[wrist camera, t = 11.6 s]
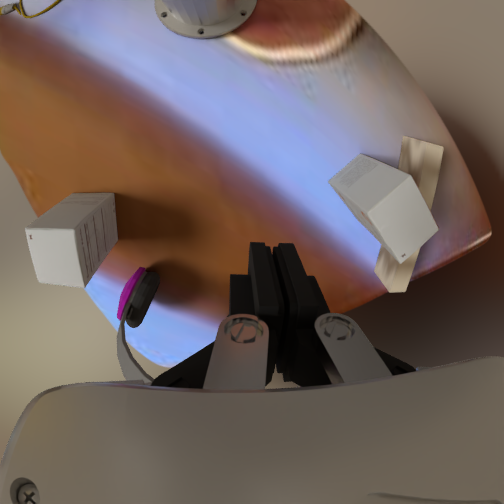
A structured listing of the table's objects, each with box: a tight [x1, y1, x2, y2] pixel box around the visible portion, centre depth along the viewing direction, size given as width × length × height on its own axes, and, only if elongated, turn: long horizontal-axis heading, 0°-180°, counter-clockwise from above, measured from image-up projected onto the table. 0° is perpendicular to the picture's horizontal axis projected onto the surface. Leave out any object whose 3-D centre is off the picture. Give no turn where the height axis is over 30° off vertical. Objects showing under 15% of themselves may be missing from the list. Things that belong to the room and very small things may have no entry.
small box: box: [328, 154, 439, 264], centre depth 32 cm, size 8×6×13 cm
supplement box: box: [25, 193, 118, 288], centre depth 32 cm, size 7×7×13 cm
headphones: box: [117, 267, 229, 383], centre depth 36 cm, size 21×9×20 cm, turn 61°
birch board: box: [374, 136, 444, 292], centre depth 37 cm, size 22×3×6 cm, turn 176°
